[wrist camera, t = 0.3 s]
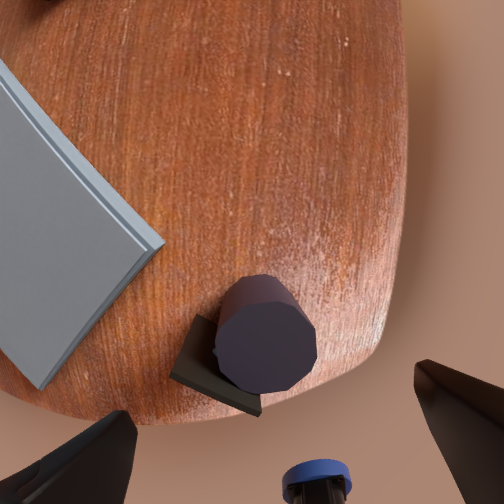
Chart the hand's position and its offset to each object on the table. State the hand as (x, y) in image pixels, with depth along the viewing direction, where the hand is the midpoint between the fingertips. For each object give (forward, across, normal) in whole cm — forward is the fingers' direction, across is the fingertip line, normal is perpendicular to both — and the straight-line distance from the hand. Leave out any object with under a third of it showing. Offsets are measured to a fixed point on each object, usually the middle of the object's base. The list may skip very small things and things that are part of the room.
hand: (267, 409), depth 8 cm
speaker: (+16, +2, +3) cm, 17 cm away
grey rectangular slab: (+16, +25, -11) cm, 32 cm away
